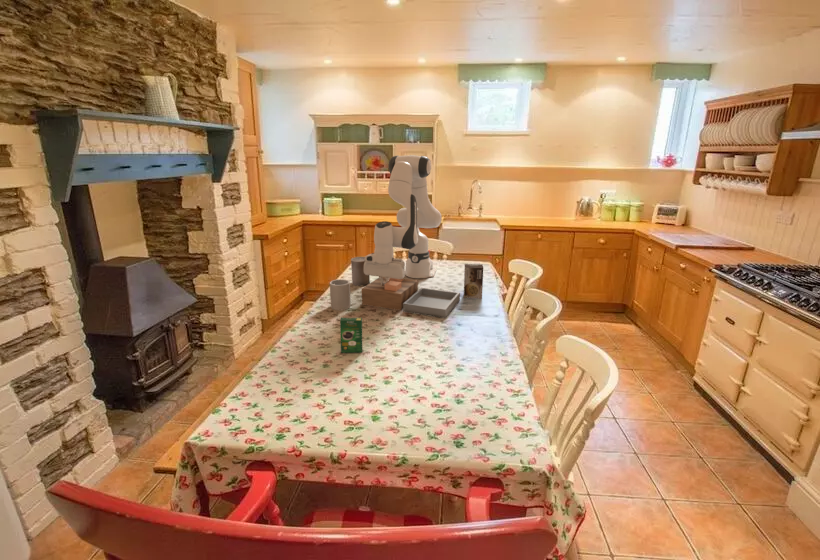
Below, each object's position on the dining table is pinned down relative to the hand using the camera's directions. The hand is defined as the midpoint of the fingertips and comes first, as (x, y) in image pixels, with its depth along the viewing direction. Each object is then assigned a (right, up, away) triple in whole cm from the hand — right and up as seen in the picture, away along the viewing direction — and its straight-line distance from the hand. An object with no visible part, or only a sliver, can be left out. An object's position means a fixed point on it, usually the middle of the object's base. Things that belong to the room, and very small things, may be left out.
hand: (384, 285), depth 201 cm
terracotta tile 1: (+4, -1, -1) cm, 5 cm away
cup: (-20, -10, -2) cm, 23 cm away
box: (+23, -10, -1) cm, 25 cm away
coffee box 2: (+44, -6, +12) cm, 45 cm away
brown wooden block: (+3, -7, +7) cm, 10 cm away
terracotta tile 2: (+5, +2, +9) cm, 10 cm away
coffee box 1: (-9, -24, -45) cm, 52 cm away
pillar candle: (-15, +1, +32) cm, 35 cm away
